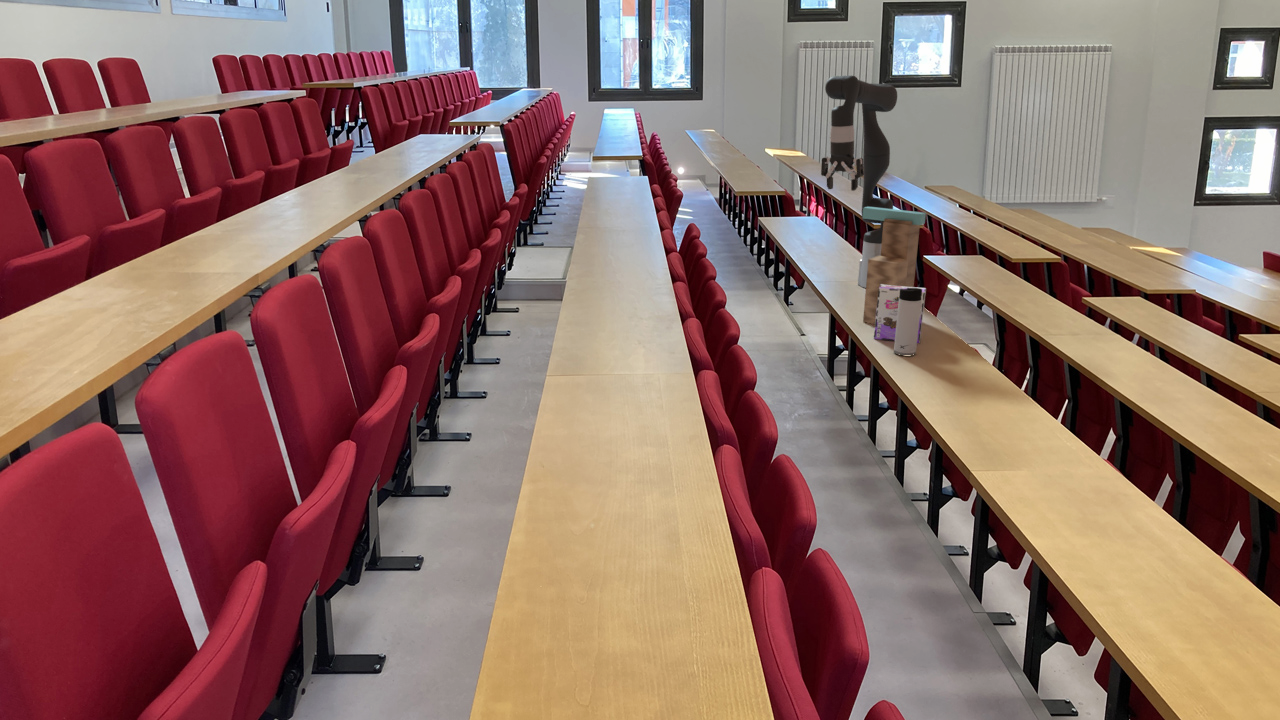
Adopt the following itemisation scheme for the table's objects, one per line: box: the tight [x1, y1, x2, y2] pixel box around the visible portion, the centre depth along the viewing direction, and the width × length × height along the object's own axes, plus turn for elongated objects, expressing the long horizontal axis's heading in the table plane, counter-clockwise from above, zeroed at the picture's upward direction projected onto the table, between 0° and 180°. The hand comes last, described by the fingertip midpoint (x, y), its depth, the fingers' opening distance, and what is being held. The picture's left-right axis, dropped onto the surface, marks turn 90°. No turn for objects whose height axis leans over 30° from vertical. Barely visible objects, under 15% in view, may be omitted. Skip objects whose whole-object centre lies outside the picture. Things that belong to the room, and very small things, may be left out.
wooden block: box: [862, 255, 908, 325], centre depth 296 cm, size 10×8×21 cm
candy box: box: [873, 284, 927, 344], centre depth 279 cm, size 14×6×16 cm, turn 70°
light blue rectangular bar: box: [861, 207, 927, 226], centre depth 297 cm, size 20×4×4 cm, turn 51°
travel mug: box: [893, 287, 922, 355], centre depth 265 cm, size 6×7×20 cm
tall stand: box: [881, 218, 921, 287], centre depth 300 cm, size 9×8×33 cm
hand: (842, 189), depth 302 cm, fingers open, 8 cm apart
